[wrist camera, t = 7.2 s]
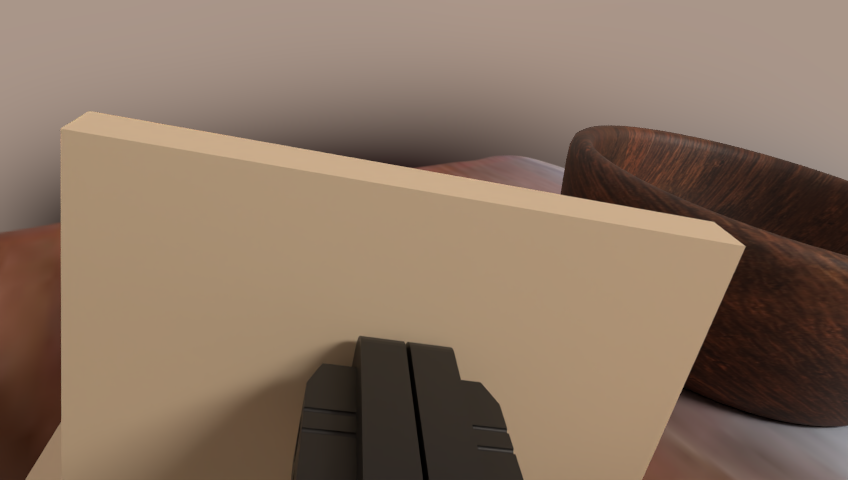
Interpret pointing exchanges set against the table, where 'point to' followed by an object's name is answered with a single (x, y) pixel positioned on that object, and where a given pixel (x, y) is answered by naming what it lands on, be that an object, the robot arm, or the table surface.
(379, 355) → the robot arm
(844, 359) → the wooden bowl
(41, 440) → the table surface
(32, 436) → the table surface
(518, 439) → the lid
